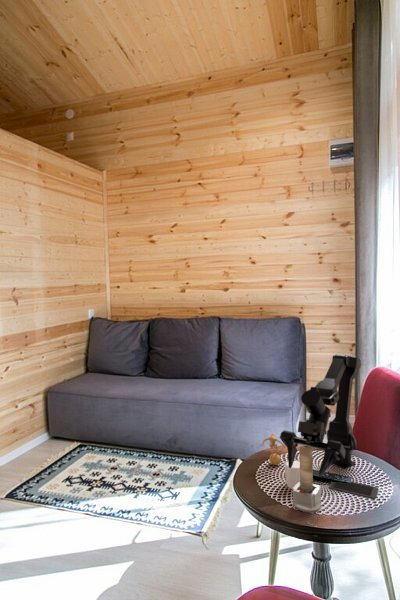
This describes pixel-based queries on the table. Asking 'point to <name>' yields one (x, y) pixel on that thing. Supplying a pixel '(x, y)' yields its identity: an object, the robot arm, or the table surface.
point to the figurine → (274, 456)
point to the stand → (307, 498)
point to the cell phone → (355, 489)
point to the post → (306, 469)
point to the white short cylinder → (292, 473)
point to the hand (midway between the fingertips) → (304, 471)
